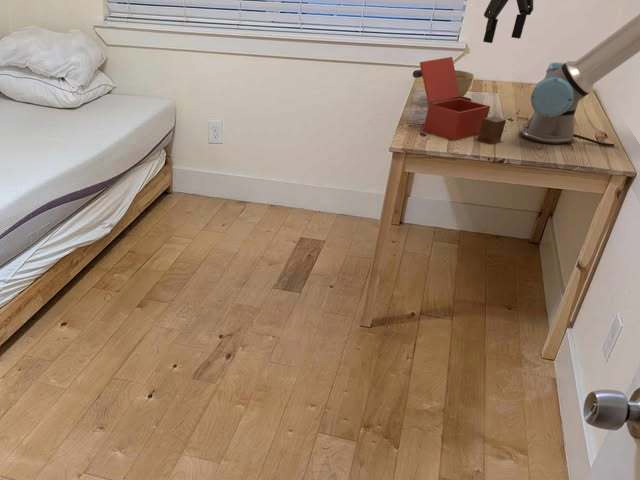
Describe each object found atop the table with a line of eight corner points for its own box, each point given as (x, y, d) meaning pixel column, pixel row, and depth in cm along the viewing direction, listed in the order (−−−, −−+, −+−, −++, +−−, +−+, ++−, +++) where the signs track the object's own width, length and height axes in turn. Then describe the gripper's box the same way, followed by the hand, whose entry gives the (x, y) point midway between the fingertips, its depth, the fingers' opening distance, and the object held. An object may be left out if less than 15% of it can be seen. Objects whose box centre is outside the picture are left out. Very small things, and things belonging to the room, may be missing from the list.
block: (500, 141, 223) (506, 119, 219) (490, 144, 221) (496, 122, 217) (486, 137, 227) (492, 116, 223) (477, 140, 225) (483, 118, 221)
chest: (483, 132, 231) (490, 106, 226) (453, 140, 225) (460, 112, 220) (452, 124, 240) (458, 98, 235) (422, 130, 233) (428, 104, 228)
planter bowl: (469, 101, 266) (476, 71, 260) (463, 110, 254) (471, 80, 248) (426, 96, 272) (433, 67, 266) (419, 105, 261) (425, 75, 254)
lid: (452, 56, 233) (432, 66, 240) (421, 61, 226) (401, 71, 233) (460, 96, 235) (440, 104, 242) (429, 102, 228) (410, 110, 235)
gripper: (536, -43, 206) (516, 34, 218) (483, -38, 196) (465, 42, 208) (559, -41, 201) (537, 37, 213) (505, -37, 190) (486, 46, 202)
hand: (501, 40), depth 210 cm, fingers open, 13 cm apart
